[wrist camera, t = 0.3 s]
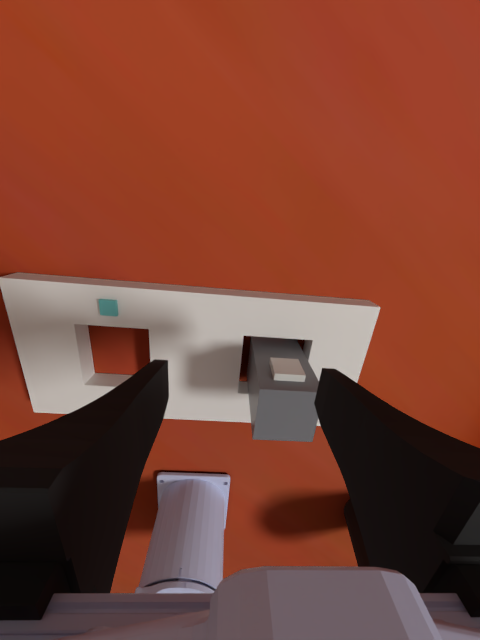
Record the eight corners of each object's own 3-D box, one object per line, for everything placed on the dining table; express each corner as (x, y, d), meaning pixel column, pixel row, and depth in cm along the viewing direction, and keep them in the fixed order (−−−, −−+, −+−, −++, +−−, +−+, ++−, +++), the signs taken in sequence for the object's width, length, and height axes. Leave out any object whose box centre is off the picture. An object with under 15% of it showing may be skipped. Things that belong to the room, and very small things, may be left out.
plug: (288, 376, 24) (312, 441, 17) (246, 374, 24) (252, 439, 17) (296, 333, 22) (326, 385, 15) (251, 330, 22) (260, 382, 15)
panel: (335, 413, 26) (344, 429, 24) (47, 398, 24) (31, 414, 22) (368, 300, 21) (382, 308, 19) (17, 272, 20) (-6, 278, 18)
